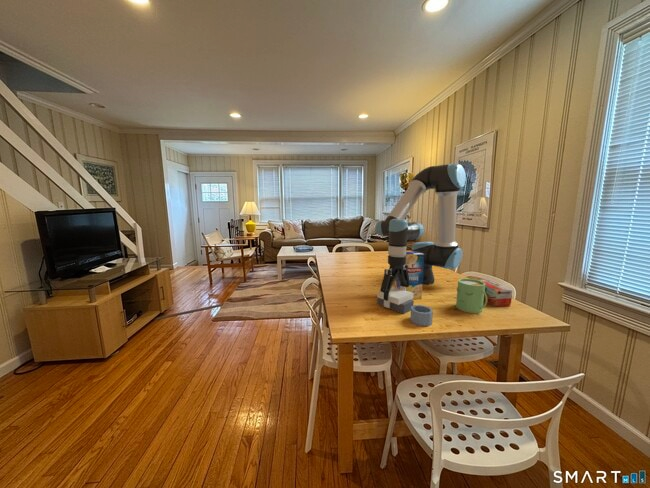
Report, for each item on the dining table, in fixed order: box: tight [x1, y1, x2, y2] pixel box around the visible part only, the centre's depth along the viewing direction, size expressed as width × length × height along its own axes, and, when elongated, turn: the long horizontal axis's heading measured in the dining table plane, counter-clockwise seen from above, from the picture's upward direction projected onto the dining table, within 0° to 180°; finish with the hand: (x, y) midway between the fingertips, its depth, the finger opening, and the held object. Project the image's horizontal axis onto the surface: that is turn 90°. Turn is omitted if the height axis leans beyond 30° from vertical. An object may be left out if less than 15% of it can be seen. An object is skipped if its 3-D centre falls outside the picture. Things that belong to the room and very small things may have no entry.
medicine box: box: [478, 279, 513, 307], centre depth 119 cm, size 15×8×8 cm, turn 8°
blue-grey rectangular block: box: [376, 297, 415, 315], centre depth 112 cm, size 7×14×4 cm, turn 40°
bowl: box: [409, 304, 434, 327], centre depth 98 cm, size 8×8×5 cm
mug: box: [455, 278, 488, 314], centre depth 109 cm, size 13×10×12 cm
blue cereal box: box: [394, 251, 424, 300], centre depth 123 cm, size 7×11×22 cm, turn 96°
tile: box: [376, 286, 414, 305], centre depth 112 cm, size 11×11×2 cm
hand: (394, 303), depth 113 cm, fingers closed on tile, 11 cm apart
